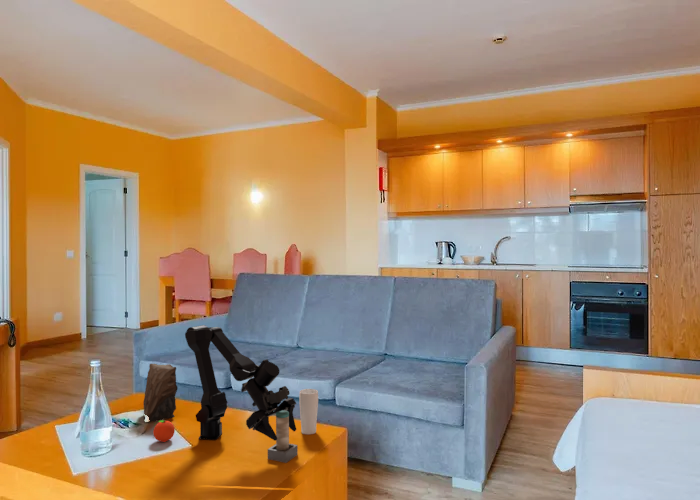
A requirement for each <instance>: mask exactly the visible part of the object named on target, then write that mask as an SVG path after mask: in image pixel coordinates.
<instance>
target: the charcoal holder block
mask: <svg viewBox="0 0 700 500" xmlns="http://www.w3.org/2000/svg"><path fill="white" fill-rule="evenodd" d="M298 449H299V448H298V444H294V443H289V450H287V451H286V452H284V451H280V450H276V443H275V444H274V445H272V446H270V447H269V448H267V460H271V461H274V462H275V461H276V462H278V463H279V462H281V463H284V464H287V463H288V462H290V461H291V460H292V459H294V458H296V457H297V456H298V455H299V454H298Z"/></svg>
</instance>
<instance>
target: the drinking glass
mask: <svg viewBox="0 0 700 500" xmlns="http://www.w3.org/2000/svg"><path fill="white" fill-rule="evenodd" d="M298 397H299V399H298V400H299V401H298V402H299V413H300V414H299V417H300V426H301V427H300V430H301V434H303V435H315V434H316V432H317V421H318V419H317V418H318V411H319V391H318V390H317V389H314V388H304V389H301V390H299V396H298Z"/></svg>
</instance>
